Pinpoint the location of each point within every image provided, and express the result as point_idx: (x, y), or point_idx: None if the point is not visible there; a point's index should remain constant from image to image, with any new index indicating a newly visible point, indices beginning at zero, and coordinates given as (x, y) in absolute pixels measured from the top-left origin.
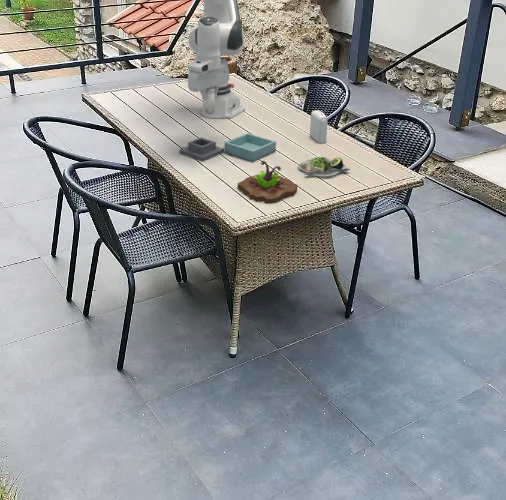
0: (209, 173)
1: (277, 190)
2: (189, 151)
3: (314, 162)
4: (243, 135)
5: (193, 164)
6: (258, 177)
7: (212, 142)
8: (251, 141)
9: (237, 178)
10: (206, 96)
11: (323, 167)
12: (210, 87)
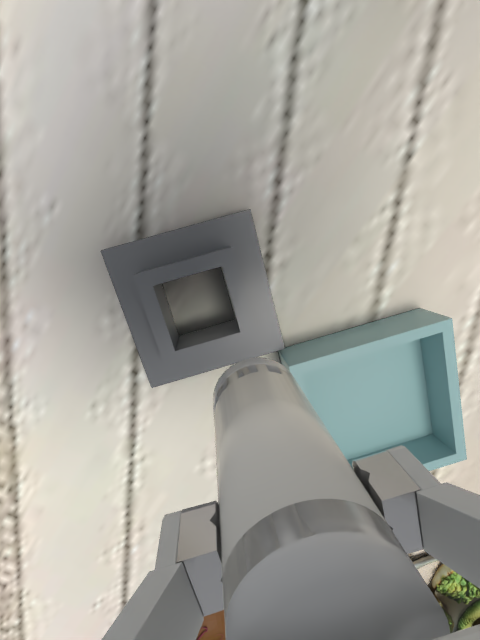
0: (117, 483)
1: None
2: (134, 295)
3: None
4: (415, 335)
5: (103, 387)
6: (220, 621)
7: (241, 337)
8: (424, 343)
9: None
10: (206, 596)
11: None
12: (395, 631)
